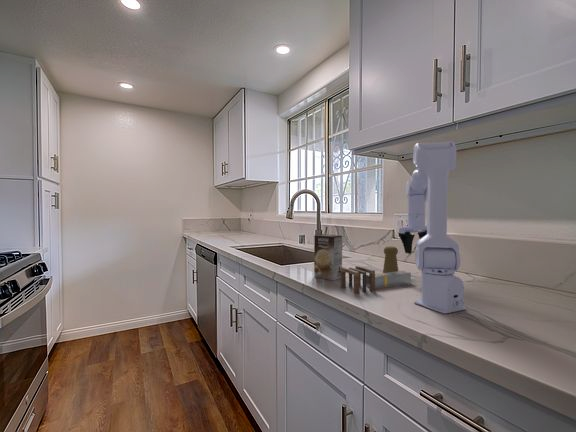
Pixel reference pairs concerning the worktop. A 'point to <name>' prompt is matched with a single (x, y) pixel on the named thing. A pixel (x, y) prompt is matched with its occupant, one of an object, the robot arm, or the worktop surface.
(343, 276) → the wooden slatted rack
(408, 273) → the tube
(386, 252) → the cork
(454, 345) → the worktop surface
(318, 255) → the coffee box
